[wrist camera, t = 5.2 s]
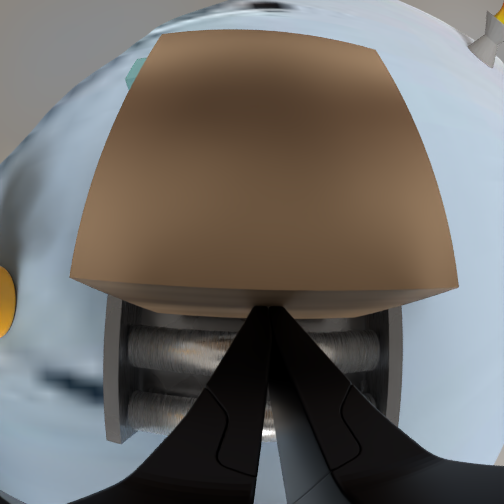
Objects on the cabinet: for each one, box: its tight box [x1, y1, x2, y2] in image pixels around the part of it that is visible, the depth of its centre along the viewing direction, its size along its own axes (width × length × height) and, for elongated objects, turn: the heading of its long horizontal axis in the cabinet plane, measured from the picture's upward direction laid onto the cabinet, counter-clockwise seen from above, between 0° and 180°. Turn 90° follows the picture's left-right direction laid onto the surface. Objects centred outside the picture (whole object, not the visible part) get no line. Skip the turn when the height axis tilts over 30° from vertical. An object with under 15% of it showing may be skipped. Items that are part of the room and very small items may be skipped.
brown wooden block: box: [69, 30, 459, 319], centre depth 10 cm, size 10×9×7 cm
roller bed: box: [103, 294, 403, 444], centre depth 14 cm, size 17×14×4 cm
